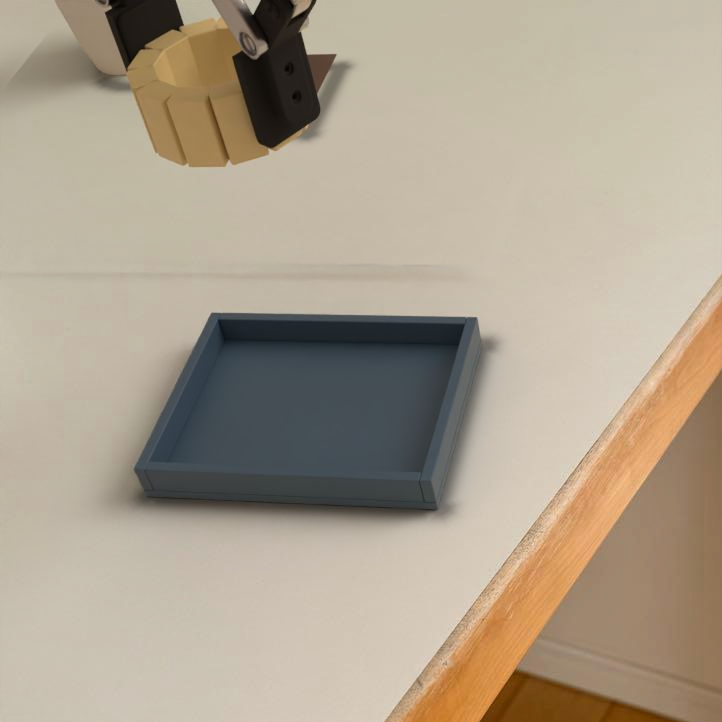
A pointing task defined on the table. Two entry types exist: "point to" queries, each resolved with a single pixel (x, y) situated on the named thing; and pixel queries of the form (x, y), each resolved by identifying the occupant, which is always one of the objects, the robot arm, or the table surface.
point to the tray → (315, 410)
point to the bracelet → (195, 97)
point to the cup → (93, 33)
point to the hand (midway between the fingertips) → (226, 104)
